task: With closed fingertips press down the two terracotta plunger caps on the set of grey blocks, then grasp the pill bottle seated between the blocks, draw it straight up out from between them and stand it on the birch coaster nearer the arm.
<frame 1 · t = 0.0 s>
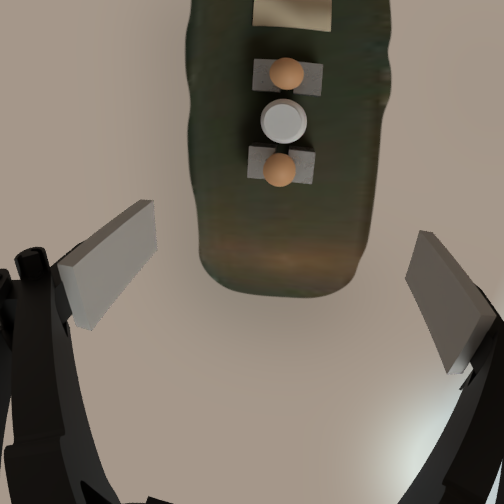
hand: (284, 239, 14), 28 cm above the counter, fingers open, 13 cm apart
plunger b: (280, 166, 35), point 5 cm above the counter, slide at 0.0 cm
pill bottle: (285, 119, 37), on the counter
plunger a: (287, 75, 30), point 5 cm above the counter, slide at 0.0 cm
set of grey blocks: (285, 119, 37), on the counter
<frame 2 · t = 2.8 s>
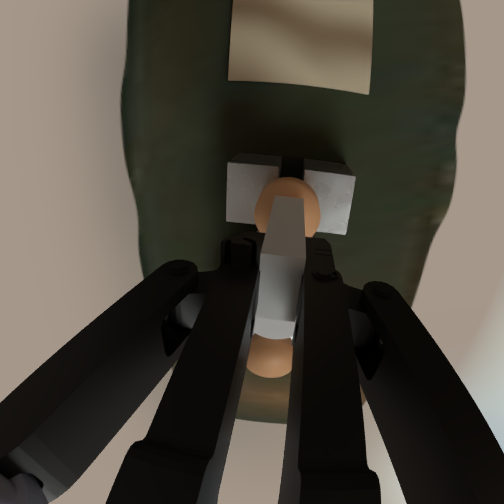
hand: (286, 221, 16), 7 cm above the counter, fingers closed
plunger b: (272, 339, 23), point 5 cm above the counter, slide at 0.0 cm
pill bottle: (283, 246, 25), on the counter
plunger a: (288, 201, 19), point 5 cm above the counter, slide at 0.5 cm, touching gripper
set of grey blocks: (283, 247, 25), on the counter
coaster: (302, 22, 17), on the counter
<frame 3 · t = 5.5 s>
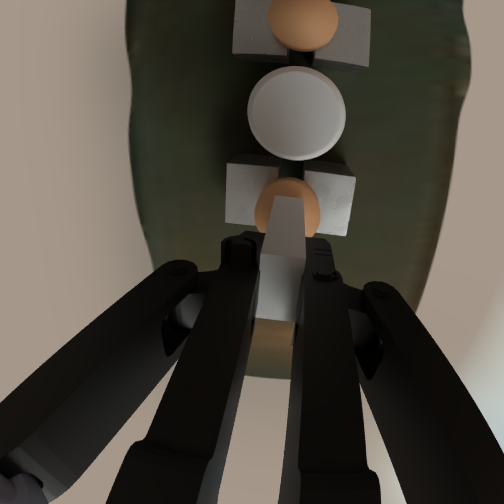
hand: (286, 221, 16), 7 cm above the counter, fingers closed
plunger b: (288, 201, 19), point 4 cm above the counter, slide at 0.7 cm, touching gripper
pill bottle: (296, 111, 20), on the counter
plunger a: (302, 27, 14), point 4 cm above the counter, slide at 1.3 cm
set of grey blocks: (296, 111, 20), on the counter
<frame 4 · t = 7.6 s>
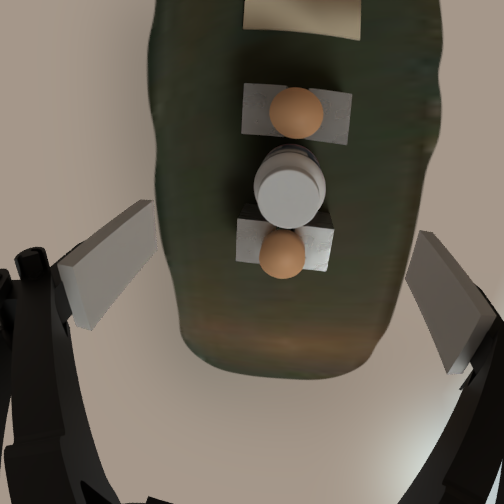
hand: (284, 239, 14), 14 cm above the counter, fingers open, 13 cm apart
plunger b: (283, 244, 26), point 4 cm above the counter, slide at 1.3 cm
pill bottle: (291, 171, 27), on the counter
plunger a: (296, 112, 21), point 4 cm above the counter, slide at 1.3 cm
set of grey blocks: (291, 171, 27), on the counter
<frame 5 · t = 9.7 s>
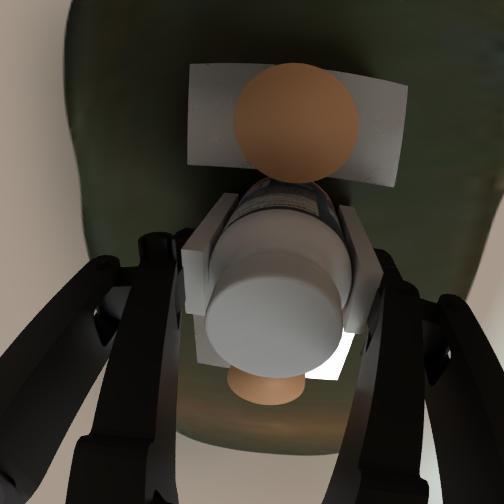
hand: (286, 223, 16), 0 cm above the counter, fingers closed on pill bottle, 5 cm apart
plunger b: (271, 347, 15), point 4 cm above the counter, slide at 1.3 cm
pill bottle: (286, 218, 16), on the counter, touching gripper
plunger a: (296, 119, 10), point 4 cm above the counter, slide at 1.3 cm
set of grey blocks: (286, 220, 16), on the counter
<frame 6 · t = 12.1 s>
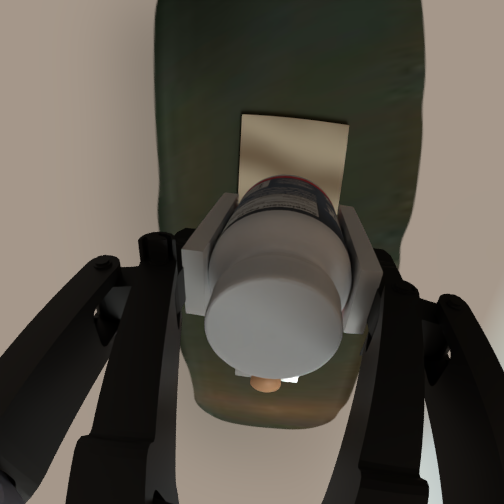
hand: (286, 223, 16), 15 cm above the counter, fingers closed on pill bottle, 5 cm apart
plunger b: (267, 368, 36), point 4 cm above the counter, slide at 1.3 cm
pill bottle: (286, 219, 16), point 14 cm above the counter, touching gripper
coaster: (291, 168, 29), on the counter
when the fingers open (2 cm above the counter, at t = 14.7 s): pill bottle drops 1 cm, resting on coaster.
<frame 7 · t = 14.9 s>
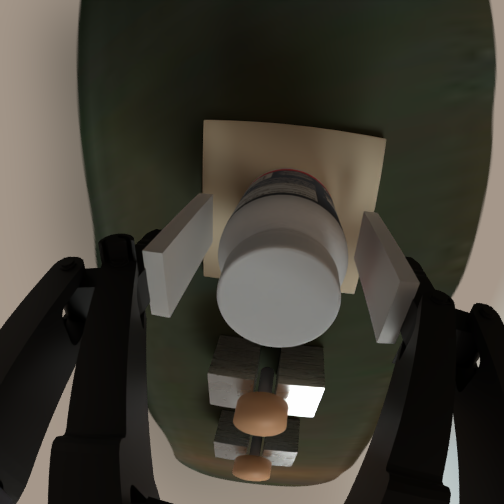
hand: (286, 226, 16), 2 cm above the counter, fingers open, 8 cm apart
plunger b: (254, 454, 25), point 4 cm above the counter, slide at 1.3 cm
pill bottle: (287, 210, 18), resting on coaster
plunger a: (264, 396, 20), point 4 cm above the counter, slide at 1.3 cm
set of grey blocks: (263, 397, 26), on the counter
coaster: (287, 210, 18), on the counter
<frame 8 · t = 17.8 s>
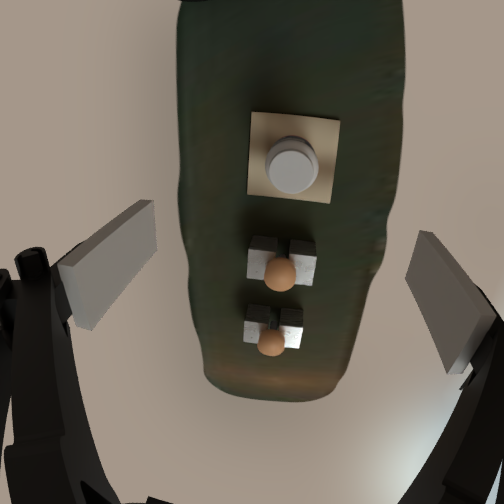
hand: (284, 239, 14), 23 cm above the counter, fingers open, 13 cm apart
plunger b: (272, 334, 42), point 4 cm above the counter, slide at 1.3 cm
pill bottle: (292, 156, 34), resting on coaster
plunger a: (281, 267, 37), point 4 cm above the counter, slide at 1.3 cm
set of grey blocks: (278, 287, 43), on the counter
coaster: (292, 157, 34), on the counter
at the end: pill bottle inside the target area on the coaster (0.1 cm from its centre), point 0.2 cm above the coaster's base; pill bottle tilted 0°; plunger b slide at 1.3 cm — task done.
